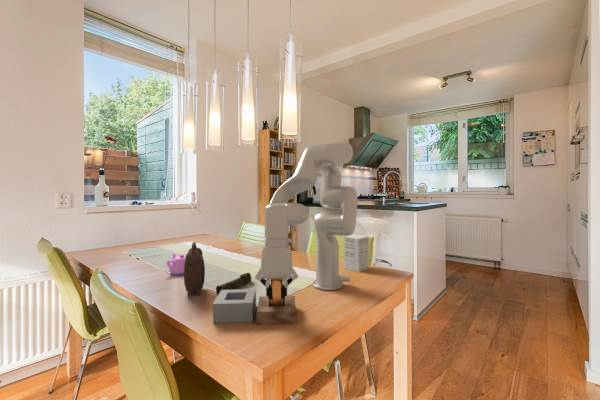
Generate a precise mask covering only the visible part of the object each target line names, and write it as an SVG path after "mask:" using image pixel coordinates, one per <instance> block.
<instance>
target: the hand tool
mask: <svg viewBox="0 0 600 400" xmlns="http://www.w3.org/2000/svg"><path fill="white" fill-rule="evenodd" d="M251 282H252V275H251V273H250V272H245V273H242V274H241V275H239V277H238V278H236V279H233V280H230V281H228V282H225V283H223V284H220V285H216V287H215V291H216V295H217V296H218V295H219V293H220V291H221V290H236V289H238V288H239V287H241V286H242V287H243V286H244V287H245V286H247V285H248V284H250V283H251Z"/></svg>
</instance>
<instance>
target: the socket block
mask: <svg viewBox="0 0 600 400" xmlns="http://www.w3.org/2000/svg"><path fill="white" fill-rule="evenodd" d="M256 307H257V289H256V288H243V289H238V288H235V289H233V290H221V291H220V293H219V295H218V294H217V296H216V297H215V300H214V301H213V303H212V323H213V324H222V323H223V324H225V323H230V324H231V323H253V321H254V316H255V313H256V309H257V308H256Z"/></svg>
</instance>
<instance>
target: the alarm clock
mask: <svg viewBox="0 0 600 400" xmlns="http://www.w3.org/2000/svg"><path fill="white" fill-rule="evenodd" d="M185 256H186V257H185V264H184V275H183V284H184V287H185V291H186V292H187V296H190V292H197V296H200V293H201V292H200V291H202V289H203V288H204V284H205V276H206V269H205V260H204V256H203V251H202V249H201V248H199V247H197V242H196V241H192V244H191V248H189V250H187V253H186V255H185Z"/></svg>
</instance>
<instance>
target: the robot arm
mask: <svg viewBox="0 0 600 400" xmlns="http://www.w3.org/2000/svg"><path fill="white" fill-rule="evenodd" d="M353 155H354V149H353V147H352V145H351V144H350V143H349V142H348V141H340V142H328V143H322V144H313V145H309V146H307V147H306V148H305V149H304V151H303V153H302V155H301V157H300V160H299V161H298V164H297V166H296V168H295V170H294V174H293V175H292V176H291V177H289V178H288V179H287V180H286V181H285V182H284V183H283V184H282V185H280V186H279V187H278V188H277V190H276V191H275V192H274V194H273V196H272V197H271V200H270V203H269V204H267V205H266V206H265V207H264V245H263V246H262V248H261V254H260V255H261V259H260V268H259V269H258V271H257V273H256V274H255V275H254V278H255V280H257V281H259V282H260V283H261V284H262V285H263V286H264V287H265V292H266V296H265V297H268V300H271V278H283V300H285V296H288V287H289V286H290V284H291V283H292V282H293V281H295V280H297V279H298V278H299V274H298V273H297V271H296V270H295V269H294V267H293V256H292V255H293V254H292V247H291V246H290V245H289V244H293V242H294V241H293V238H290V237H289V226H299V225H302V224H304V223H305V222H306V221H307V219H308V216H309V211H308V209H307V207H306V206H305V205H304V204H301V203H299V202H289V201H290V200H291V199H292V198H294V197H295V196H297V195H299V194H301V193H303V192H305V191H308V190H310V189H311V188H313V187H314V186H315V184H316V182H317V180H318V178H319V177H318V176H319V174H321V179H320V180H321V182H320V183H321V184H320V193H319V203H320V206H322V207H323V208H326V209H334V210H335V209H338V210H342V211H341V212H340V211H325V210H324V211H320V212H318V213H317V214H316V215H315V216H314V218H313V225H314V231H315V241H316V242H315V243H316V245H315V247H316V248H315V249H316V252H315V253H316V254H315V255H316V257H315V259H316V264H315V265H316V269H315V270H316V275H315V276H316V277H315V278H316V279H314V281H312V287H314V288H315V289H318V290H321V291H322V290H323V291H335V290H340V289H341V288H342V287H343V282H350V281H351V277H350V276H346V275H340V265H339V264H340V262H339V261H340V257H339V256H340V245H339V241H338V239H337V237H336V236H344V237H345V236H350V235H354V232H355V230H356V225H357V223H356V222H357V211H358V194H357V190H356V188H354V187H353V186H348V185H342V172H341V171H340V170H339V169H340V168H338V166H342V165H345V164H348V163H349V162H350V161H351V160H352V158H353Z"/></svg>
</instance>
